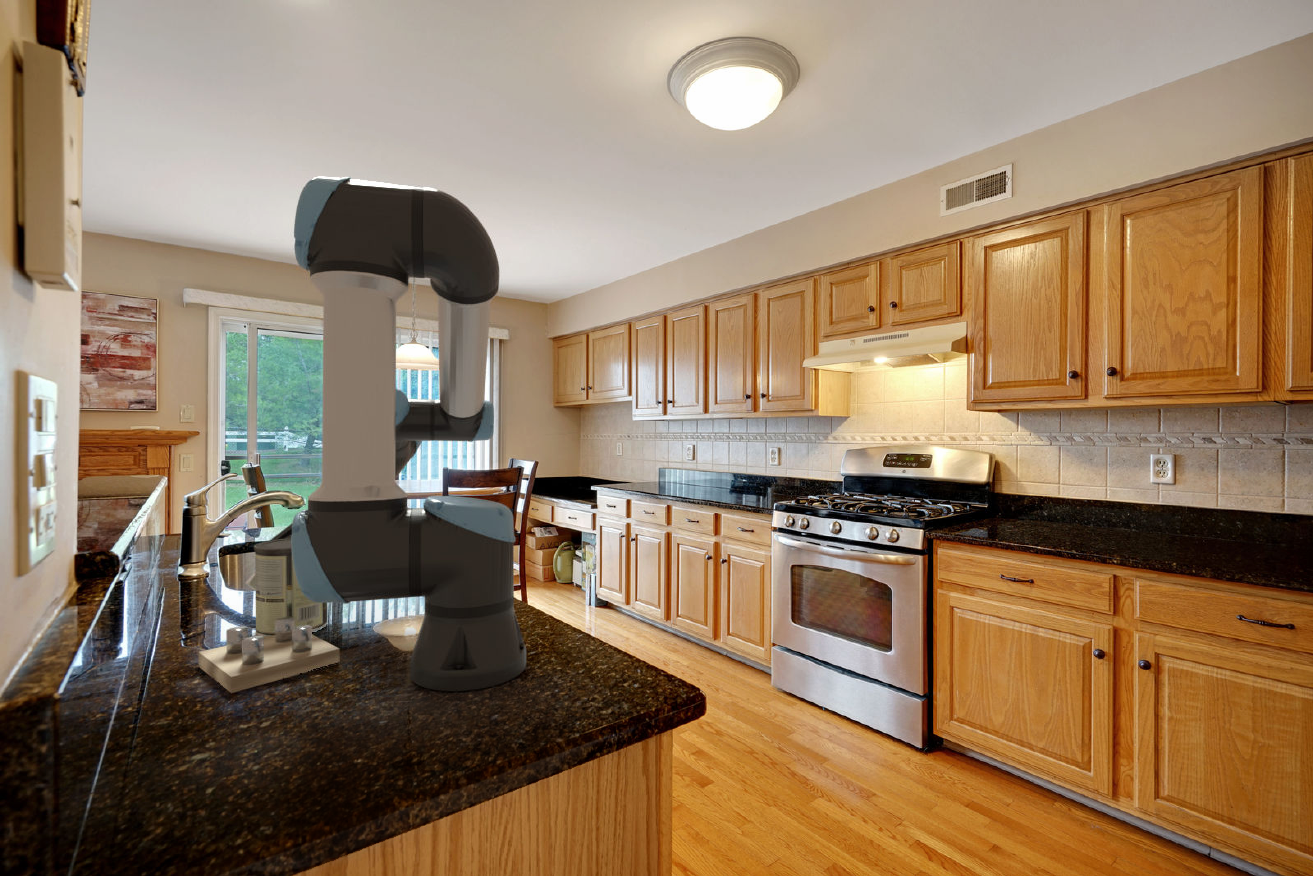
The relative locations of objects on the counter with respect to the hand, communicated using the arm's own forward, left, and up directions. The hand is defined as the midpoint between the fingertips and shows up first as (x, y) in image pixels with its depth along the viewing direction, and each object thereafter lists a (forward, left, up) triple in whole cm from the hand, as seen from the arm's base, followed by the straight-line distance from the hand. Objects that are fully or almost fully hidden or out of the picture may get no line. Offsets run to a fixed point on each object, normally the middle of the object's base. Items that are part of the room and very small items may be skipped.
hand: (279, 593), depth 100 cm
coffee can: (0, -2, -7) cm, 7 cm away
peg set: (-14, +6, -4) cm, 15 cm away
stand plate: (-14, +6, -6) cm, 16 cm away
